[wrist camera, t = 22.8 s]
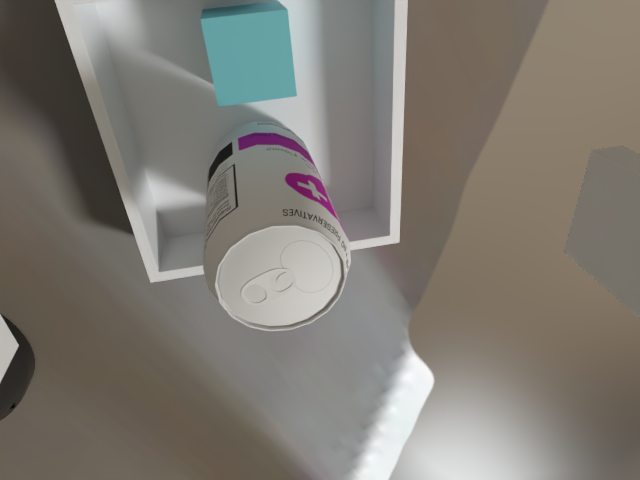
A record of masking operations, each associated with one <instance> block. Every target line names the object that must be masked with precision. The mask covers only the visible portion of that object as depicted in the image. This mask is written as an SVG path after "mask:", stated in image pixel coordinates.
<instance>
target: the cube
mask: <svg viewBox="0 0 640 480" xmlns="http://www.w3.org/2000/svg"><path fill="white" fill-rule="evenodd" d="M200 20H201V25H202V30H203V35H204V40H205V45H206V50H207V55H208V60H209V64H210V69H211V74H212V79H213V84H214V89H215V94H216V99H217V104H218V107H220V106H228V105H235V104H243V103H250V102H258V101H265V100H272V99H280V98H287V97H295V96H297V92H296V83H295V74H294V65H293V55H292V46H291V37H290V27H289V18H288V9H287V8H286V7H284V6H283V5H282V4H281V3H280V2H279V1H273V2H264V3H255V4H246V5H237V6H228V7H219V8H210V9H203V10H202V14H201V18H200Z"/></svg>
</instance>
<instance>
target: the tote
mask: <svg viewBox="0 0 640 480" xmlns="http://www.w3.org/2000/svg"><path fill="white" fill-rule="evenodd" d="M273 1H279V2H280V3H281V4H282V5H283V6H284V7H286V8H287V9H288V18H289V27H290V37H291V46H292V55H293V65H294V74H295V83H296V92H297V96H295V97H287V98H280V99H272V100H265V101H258V102H250V103H243V104H235V105H228V106H220V107H218V104H217V99H216V94H215V89H214V84H213V79H212V74H211V69H210V64H209V60H208V55H207V50H206V45H205V40H204V35H203V30H202V25H201V20H200V18H201V14H202V10H203V9H210V8H219V7H228V6H237V5H246V4H255V3H264V2H273ZM55 3H56V6H57V9H58V12H59V15H60V18H61V21H62V24H63V26H64V29H65V32H66V35H67V38H68V41H69V44H70V47H71V50H72V53H73V56H74V59H75V62H76V65H77V68H78V71H79V73H80V76H81V79H82V82H83V85H84V88H85V91H86V94H87V97H88V100H89V103H90V106H91V109H92V112H93V115H94V118H95V120H96V123H97V126H98V129H99V132H100V135H101V138H102V141H103V144H104V147H105V150H106V153H107V156H108V159H109V162H110V165H111V168H112V170H113V173H114V176H115V179H116V182H117V185H118V188H119V191H120V194H121V197H122V200H123V203H124V206H125V209H126V212H127V215H128V217H129V220H130V223H131V226H132V229H133V232H134V235H135V238H136V241H137V244H138V247H139V250H140V253H141V256H142V259H143V262H144V265H145V267H146V270H147V273H148V276H149V279H150V282H158V281H164V280H170V279H176V278H182V277H189V276H195V275H201V274H204V270H203V260H204V239H205V217H206V196H207V175H208V166H209V159H210V155H211V153H212V151H213V150H214V148H215V146H216V144H217V143H218V141H219V139H221V138H222V137H223V136H224V135H226V134H227V133H228V132H229V131H231V130H232V129H233V128H235V127H238V126H241V125H244V124H247V123H250V122H273V123H275V124H278V125H281V126H283V127H286V128H289V129H290V130H291V131H293V132H294V133H295V134H296V135H297V136H298V137H299V138H301V139H302V140H303V141H304V143H305V145H306V147H307V149H308V151H309V153H310V155H311V157H312V159H313V161H314V164H315V166H316V168H317V170H318V173H319V175H320V177H321V179H322V182H323V184H324V186H325V188H326V191H327V193H328V195H329V197H330V200H331V202H332V204H333V206H334V208H335V211H336V213H337V215H338V217H339V220H340V222H341V224H342V226H343V229H344V231H345V233H346V235H347V238H348V240H349V243H350V250H355V249H362V248H368V247H374V246H380V245H386V244H393V243H399V237H400V208H401V179H402V151H403V122H404V93H405V64H406V35H407V6H408V0H55Z"/></svg>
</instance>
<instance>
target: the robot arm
mask: <svg viewBox="0 0 640 480" xmlns="http://www.w3.org/2000/svg"><path fill="white" fill-rule="evenodd" d="M564 253H566V254H567V255H568V256H569V257H570V258H571V259H573V260H574V261H575V262H576V263H577V264H578V265H579V266H580V267H581V268H583V269H584V270H585V271H586V272H587V273H588V274H589V275H591V276H592V277H593V278H594V279H595V280H596V281H597V282H598V283H600V284H601V285H602V286H603V287H604V288H605V289H607V290H608V291H609V292H610V293H611V294H612V295H613V296H614V297H616V298H617V299H618V300H619V301H620V302H621V303H622V304H624V305H625V306H626V307H627V308H628V309H629V310H630V311H631V312H632V313H634V314H635V315H636V316H637V317H638V318H639V319H640V154H639V153H637V152H635V151H633V150H631V149H629V148H627V147H624V146H616V147H609V148H602V149H595V150H591V153H590V157H589V161H588V165H587V168H586V172H585V175H584V179H583V183H582V186H581V190H580V194H579V197H578V202H577V205H576V209H575V212H574V216H573V219H572V223H571V227H570V230H569V234H568V238H567V241H566V245H565V249H564ZM34 369H35V359H34V354H33V351H32V348H31V346H30V344H29V342H28V341H27V339H26V338H25V336H24V335H23V334H22V333H21V332H20V330H19V329H18V328H17V327H16V326H15V325H13V324H12V323H11V322H10V321H8V320H7V319H6V318H4V317H3V316H1V315H0V420H2V419H3V418H5V417H6V416H7V415H9V414H10V413H11V412H12V411H13V410H14V409H15V408H16V407H17V405H18V404H19V403H20V401H21V400H22V398H23V397H24V395H25V393H26V390H27V388H28V386H29V384H30V381H31V379H32V377H33V374H34Z"/></svg>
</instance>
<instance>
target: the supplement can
mask: <svg viewBox="0 0 640 480" xmlns="http://www.w3.org/2000/svg"><path fill="white" fill-rule="evenodd" d="M350 264H351V258H350V243H349V240H348V238H347V235H346V233H345V231H344V229H343V226H342V224H341V222H340V220H339V217H338V215H337V213H336V211H335V208H334V206H333V204H332V202H331V200H330V197H329V195H328V193H327V191H326V188H325V186H324V184H323V182H322V179H321V177H320V175H319V173H318V170H317V168H316V166H315V164H314V161H313V159H312V157H311V155H310V153H309V151H308V149H307V147H306V145H305V143H304V141H303V140H302V139H301V138H299V137H298V136H297V135H296V134H295V133H294V132H293V131H291V130H290V129H289V128H286V127H283V126H281V125H278V124H275V123H273V122H250V123H247V124H244V125H241V126H238V127H235V128H233V129H232V130H231V131H229V132H228V133H227V134H226V135H224V136H223V137H222V138H221V139H219V141H218V143H217V144H216V146H215V148H214V150H213V151H212V153H211V155H210V159H209V166H208V175H207V196H206V217H205V239H204V260H203V270H204V274H205V277H206V280H207V284H208V287H209V290H210V291H211V292H212V293H213V294H214V296H215V297H216V298H217V299H218V300H219V302H220V304H221V305H222V306H223V308H224V309H225V310H226V311H227V312H228V313H229V315H230V316H231V317H232V318H234V319H235V320H237V321H239V322H241V323H243V324H244V325H246V326H248V327H251V328H256V329H261V330H266V331H280V330H292V329H295V328H298V327H301V326H304V325H306V324H309V323H312V322H313V321H315V320H316V319H318V318H319V317H321V316H322V315H324V314H325V313H327V312H328V311H329V310H330V309H331V307H332V306H333V305H334V304H335V302H336V301H337V300H338V299H339V297H340V296H341V293H342V290H343V287H344V284H345V282H346V275H347V272H348V269H349V266H350Z"/></svg>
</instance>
